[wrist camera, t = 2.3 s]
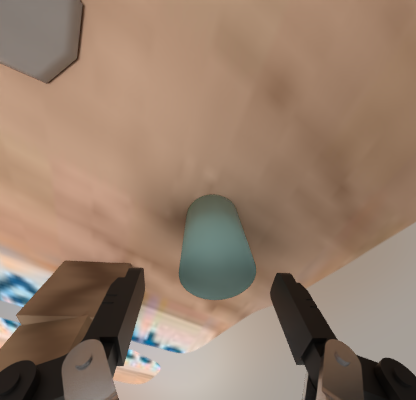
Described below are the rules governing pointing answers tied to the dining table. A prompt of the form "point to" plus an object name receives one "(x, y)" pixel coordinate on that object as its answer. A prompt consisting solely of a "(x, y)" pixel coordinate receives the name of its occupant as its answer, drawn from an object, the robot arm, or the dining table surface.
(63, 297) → the tower base
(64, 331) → the tower top
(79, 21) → the flask
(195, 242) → the cylinder
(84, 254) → the dining table surface
